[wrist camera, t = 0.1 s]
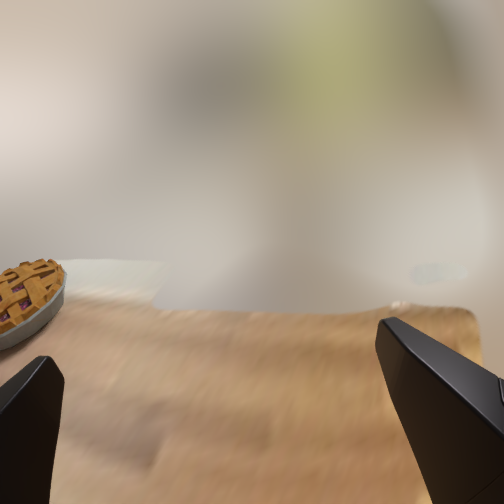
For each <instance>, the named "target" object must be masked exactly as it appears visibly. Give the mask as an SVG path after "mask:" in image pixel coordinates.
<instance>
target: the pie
mask: <svg viewBox="0 0 504 504" xmlns="http://www.w3.org/2000/svg"><path fill="white" fill-rule="evenodd" d="M66 276H67V273H66V272H65V271H64V269H63V268H62V267H61V264H60V265H58V264H57V263H56V262H55V261H54V260H52V259H49V260H48V261H47V262H46V261H45V260H44V259H40V260H36V261H35V262H32V263H29V262H23V263H20V265H19V267H17V268H14V269H10V268H9V269H7V270H6V271H4V272H3V273H2V275H0V351H1V350H4V349H7V348H10V347H13V346H15V345H16V344H18V343H20V342H21V341H23V340H25V339H26V338H28V337H30V336H32V335H33V334H35V333H36V332H37V331H38V330H39V329H41V328H42V327H43V326H44V325H45V324H46V323H47V322H49V321H50V320H51V319H52V318H53V317H54V316H55V314H56V313H57V312H58V310H59V309H60V308H61V306H62V305H63V302H64V287H65V282H66Z"/></svg>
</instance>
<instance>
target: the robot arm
mask: <svg viewBox="0 0 504 504" xmlns="http://www.w3.org/2000/svg"><path fill="white" fill-rule="evenodd" d="M375 348H376V353H377V356H378V359H379V362H380V365H381V368H382V371H383V375H384V378H385V381H386V384H387V388H388V391H389V394H390V397H391V400H392V402H393V405H394V407H395V410H396V412H397V414H398V417H399V419H400V421H401V424H402V426H403V428H404V431H405V433H406V436H407V438H408V441H409V443H410V445H411V448H412V450H413V453H414V455H415V458H416V461H417V463H418V466H419V468H420V471H421V474H422V476H423V479H424V481H425V484H426V487H427V490H428V492H429V495H430V498H431V501H432V503H433V504H504V380H503V379H501V378H498V377H497V376H496V375H495V374H493V373H491V372H489V371H488V370H486V369H484V368H483V367H481V366H479V365H478V364H476V363H474V362H472V361H471V360H469V359H467V358H466V357H464V356H462V355H460V354H459V353H457V352H455V351H454V350H452V349H450V348H448V347H447V346H445V345H443V344H442V343H440V342H438V341H436V340H435V339H433V338H431V337H429V336H428V335H426V334H424V333H423V332H421V331H419V330H417V329H416V328H414V327H412V326H410V325H409V324H407V323H405V322H403V321H402V320H400V319H398V318H396V317H389V318H385V319H381V320H380V321H379V324H378V329H377V335H376V341H375ZM64 383H65V382H64V377H63V374H62V373H61V371H60V370H59V368H58V366H57V365H56V363H55V362H54V360H53V359H52V358H51V357H50V356H38V357H36V358H35V359H34V360H33V361H31V362H30V363H29V364H28V365H26V366H25V367H24V368H23V369H22V370H20V371H19V372H18V373H17V374H16V375H14V376H13V377H12V378H11V379H10V380H8V381H7V382H6V383H5V384H4V385H2V386H1V387H0V504H49V499H50V489H51V480H52V472H53V465H54V458H55V451H56V445H57V439H58V434H59V427H60V419H61V409H62V400H63V391H64Z"/></svg>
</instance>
